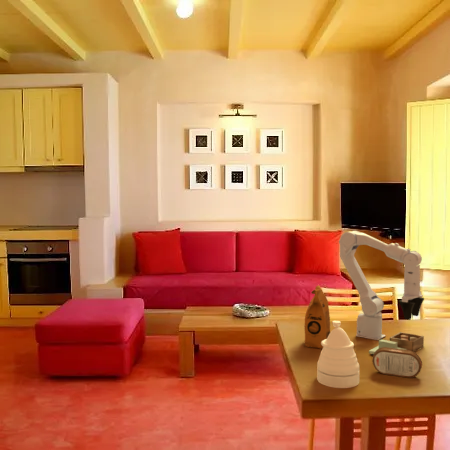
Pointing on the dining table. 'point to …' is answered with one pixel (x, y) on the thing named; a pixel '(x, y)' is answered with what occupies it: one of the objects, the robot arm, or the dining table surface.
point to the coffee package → (317, 320)
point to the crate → (408, 341)
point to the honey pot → (338, 360)
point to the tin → (397, 362)
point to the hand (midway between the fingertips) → (411, 317)
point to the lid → (385, 345)
